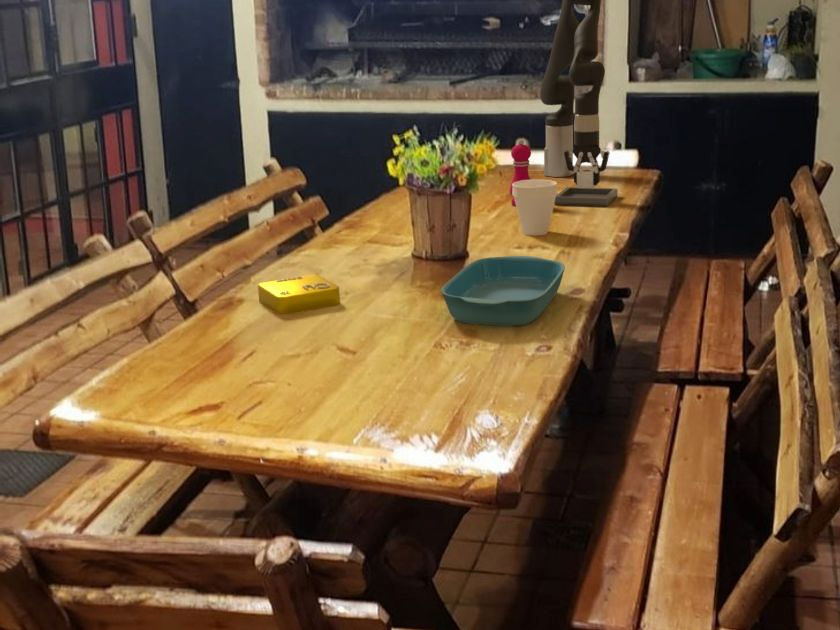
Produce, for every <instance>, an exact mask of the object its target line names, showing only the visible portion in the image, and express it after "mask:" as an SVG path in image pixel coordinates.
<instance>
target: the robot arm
mask: <svg viewBox="0 0 840 630" xmlns="http://www.w3.org/2000/svg"><path fill="white" fill-rule="evenodd" d="M574 5H575V6H576V5H578V6H589V11H588V12H587V14H586V16H585V17H584V18H583V19H582V21H581V22H580V23H579V21H578V19H577V17H576V15H575V12H574V7H573V6H574ZM601 5H602V0H562V2H561V9H560V15H559V18H558V21H557V25H556V26H557V27H556V29H555V30H556V31H555V33H554V38H553V41H552V47H551V52H550V57H549V60H548V63H547V66H546V70H545V72H544V75H543V78H542V81H541V85H540V95H539V96H540V100H541V102H542V103H543V104H544V105H545V106H559V105H560V108H559V109H558V110H557V111H555V112H553V113H552V114H549V115H547V116H546V117H545V147H544V149H543V152H544V153H543V154H544V155H543V163H544V164H543V166H544V167H543V172H544V174H543V175H544V177H545V176H546V177H553V178H555V177H556V178H563V177H564V178H565V177H570V176H573V183H574V184H575V185H576V186H577V171H579V170H580V169H581V165H582V164H584V163H588V164H591V166H592V169H594V172H595V173H594V185H598V184H599V183H600V181H601V179H600V177H601V176H600V175H601V173H602V172H604V171H606V169H607V165H608V161H609V157H610V153H611V152H610V151H609V150H601V147H600V117H599V108H600V107H599V103H600V94H601V88H602V85H603V83H604V79H605V75H606V69H605V66H604V64H603V63H602V62H601V61H594V60H595V59H596V58H597V57H598V54H599V41H598V38H599V37H598V36H599V35H598V30H599V22H600V16H601V15H600V14H601ZM568 67H570V68H569V71H568V76H561V75H562V74H563V72H564V71H565V70H567V69H568ZM575 86H576V87H585V86H586V87H588V86H591V89H590V90H589V91H588V92H584V93H579V94H577V95H576V96H575ZM573 120H574V121H573ZM599 155H600V156H601V157H600V158H602V161H601V164H600V165H599V162H598V159H597V158H598V157H599ZM574 156H575V157H576V158H575V159H576V162H575V164H574ZM574 165H575V166H574Z"/></svg>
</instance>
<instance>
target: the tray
mask: <svg viewBox="0 0 840 630" xmlns="http://www.w3.org/2000/svg"><path fill="white" fill-rule="evenodd" d="M618 190H619V189H618V188H609V187H607V188H604V187H594V188H577V186H576V187H575V186H572V187H571V186H567V187H565V188H564V189H562V190H561V191H560V192H559V193H557V195H556V198H555V202H554V206H566V207H567V206H568V207H569V206H573V207H600V208H601V207H602V208H606V207H608V206H609V205H610V204H611V203H612V202H613V201H614V200H615V199H617V198H618V194H619V193H618Z"/></svg>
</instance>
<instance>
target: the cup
mask: <svg viewBox="0 0 840 630" xmlns="http://www.w3.org/2000/svg"><path fill="white" fill-rule="evenodd" d="M557 185H558V182H557V181H555V180H550V179H541V178H540V179H539V178H537V179H530V180H522V181H517V182H514V183H513V184H512V186H513V189H512V195H511V196H512V197H513V196H514V199H515V204H516V206H515V208H516V211H517V215H518V219H519V223H520V227H521V231H522V234H523V235H525V236H544V235H547V234H548V232H549V227H550V223H551V219H552V215H553V211H554V206H555V204H554V202H555V198H556V195H558V186H557Z"/></svg>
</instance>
